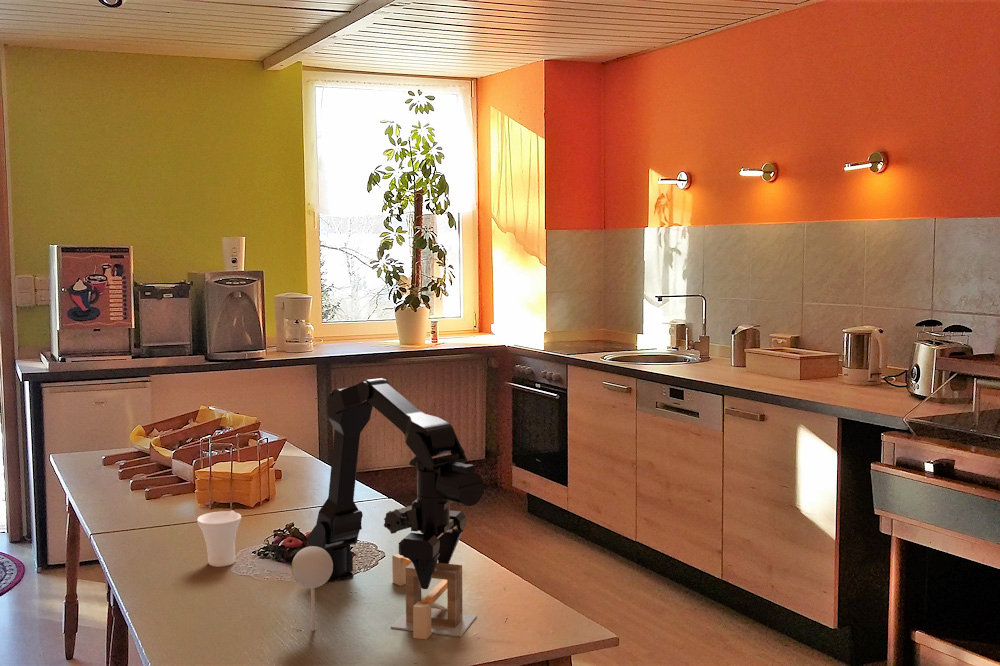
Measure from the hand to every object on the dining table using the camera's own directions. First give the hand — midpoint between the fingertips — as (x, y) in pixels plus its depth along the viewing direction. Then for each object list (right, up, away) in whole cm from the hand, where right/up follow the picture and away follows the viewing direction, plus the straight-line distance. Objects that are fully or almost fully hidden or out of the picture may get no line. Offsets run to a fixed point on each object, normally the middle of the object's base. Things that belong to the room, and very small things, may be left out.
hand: (434, 579), depth 175 cm
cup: (-47, -5, +32) cm, 57 cm away
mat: (0, -8, +1) cm, 8 cm away
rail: (-3, -7, +8) cm, 11 cm away
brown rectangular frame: (0, -8, +1) cm, 8 cm away
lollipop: (-21, -8, -3) cm, 23 cm away
